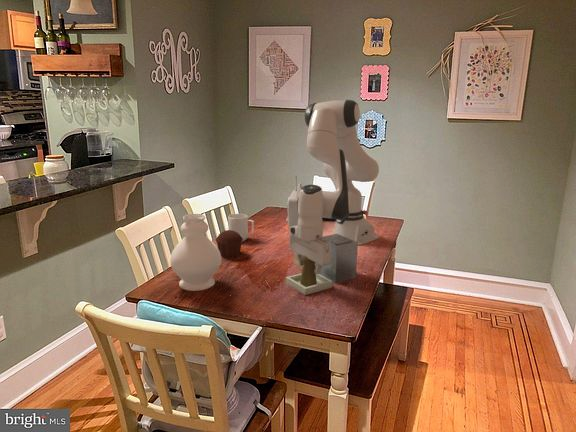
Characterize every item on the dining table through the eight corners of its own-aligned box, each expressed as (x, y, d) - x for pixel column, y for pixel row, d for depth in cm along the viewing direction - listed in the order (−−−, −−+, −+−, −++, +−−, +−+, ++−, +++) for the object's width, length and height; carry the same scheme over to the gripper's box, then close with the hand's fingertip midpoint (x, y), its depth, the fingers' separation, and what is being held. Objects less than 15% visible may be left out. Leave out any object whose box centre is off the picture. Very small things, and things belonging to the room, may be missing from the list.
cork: (299, 280, 174) (299, 252, 171) (315, 280, 175) (316, 251, 172) (301, 287, 168) (301, 258, 165) (318, 286, 169) (319, 257, 166)
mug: (225, 241, 218) (224, 217, 215) (233, 235, 226) (233, 212, 223) (249, 244, 214) (249, 220, 211) (257, 238, 222) (257, 215, 219)
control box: (335, 267, 188) (336, 232, 184) (356, 277, 179) (358, 241, 175) (314, 272, 183) (315, 237, 179) (334, 283, 173) (336, 246, 169)
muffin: (246, 257, 198) (246, 234, 196) (220, 260, 194) (220, 237, 192) (238, 248, 209) (237, 226, 206) (213, 251, 205) (212, 228, 202)
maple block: (301, 261, 195) (301, 249, 193) (310, 264, 192) (311, 252, 190) (293, 264, 191) (293, 252, 190) (303, 267, 188) (303, 255, 187)
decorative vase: (165, 279, 175) (161, 213, 168) (211, 270, 184) (209, 207, 177) (180, 298, 160) (176, 226, 154) (229, 287, 169) (228, 219, 162)
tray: (312, 276, 180) (312, 270, 179) (332, 287, 170) (332, 281, 169) (285, 283, 173) (285, 277, 172) (305, 295, 163) (305, 288, 163)
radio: (290, 217, 258) (290, 171, 251) (305, 217, 257) (306, 171, 250) (284, 228, 237) (284, 179, 230) (301, 229, 236) (301, 180, 229)
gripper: (336, 238, 160) (334, 277, 163) (300, 223, 176) (300, 259, 180) (321, 241, 156) (320, 281, 160) (286, 226, 172) (286, 262, 176)
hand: (309, 269), depth 170 cm, fingers open, 8 cm apart
